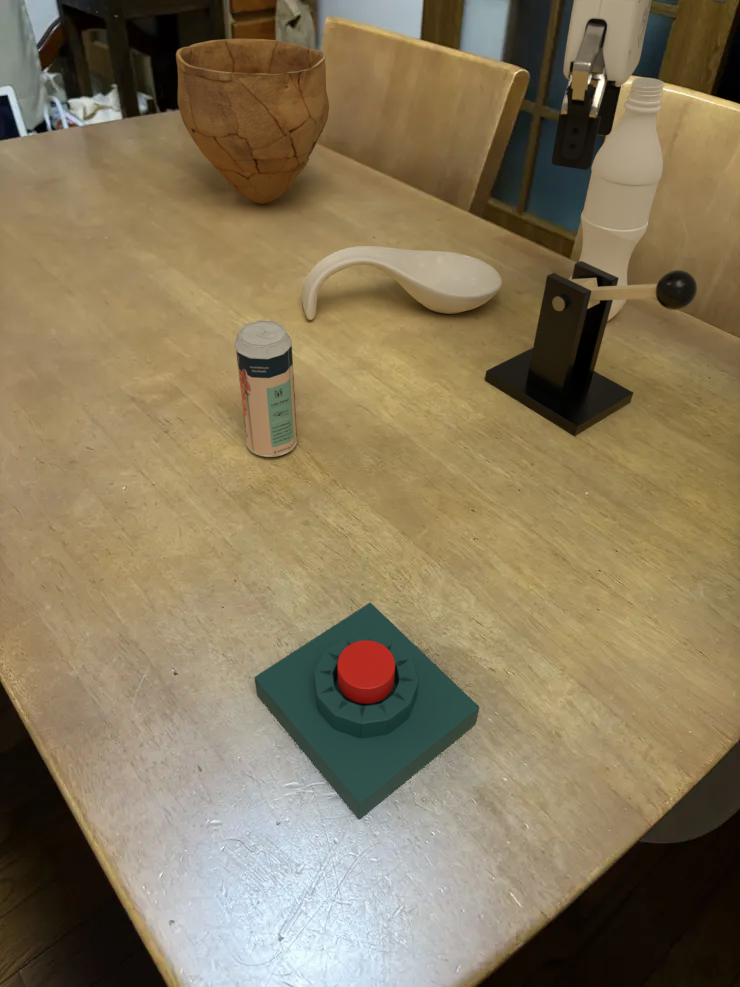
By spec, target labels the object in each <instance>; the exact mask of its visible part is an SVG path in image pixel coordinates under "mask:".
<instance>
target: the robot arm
mask: <svg viewBox="0 0 740 987" xmlns="http://www.w3.org/2000/svg"><path fill="white" fill-rule="evenodd" d="M651 5H652V0H573V3H572V7H571V8H572V9H571V14H570V20H569V27H568V32H567V39H566V46H565V53H564V60H563V75H564V77H565V79H566V80H567V81H568V82H567V86H566V90H565V93H564V97H563V100H562V104H561V108H560V109H561V110H560V112H559V114H558V121H557V126H556V133H555V138H554V143H553V150H552V155H551V164H552V165H553V166H556V167H557V166H558V167H564V168H569V169H576V170H583V171H585V170H586V171H587V170H589V169H590V168H591V167H592V164H593V160H594V159H593V158H594V154H595V149H596V144H597V139H598V135H601V136H610V135H611V133H612V130H613V126H614V122H615V116H616V113H617V108H618V103H619V98H620V93H621V89H622V86H623V85H625V83H627V82H628V80H629V79H630V78H631V76H632V75H633V73H634V72H635V71H636V68H637V67H638V65H639V63H640V61H641V56H642V52H643V51H642V50H643V45H644V42H645V41H644V39H645V35H646V30H647V25H648V19H649V15H650V10H651Z"/></svg>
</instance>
